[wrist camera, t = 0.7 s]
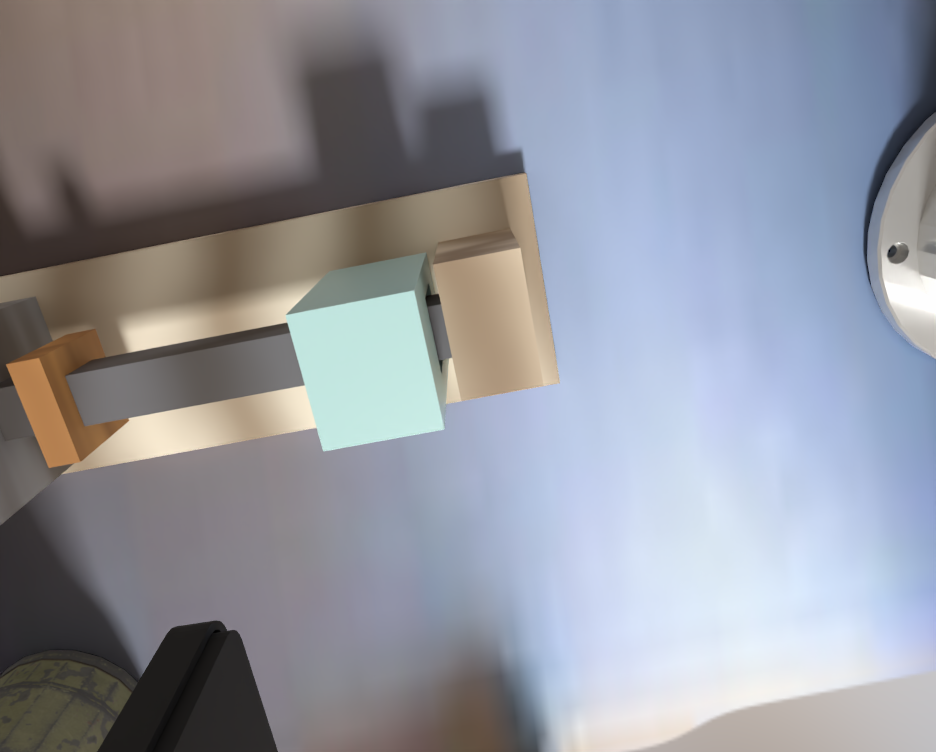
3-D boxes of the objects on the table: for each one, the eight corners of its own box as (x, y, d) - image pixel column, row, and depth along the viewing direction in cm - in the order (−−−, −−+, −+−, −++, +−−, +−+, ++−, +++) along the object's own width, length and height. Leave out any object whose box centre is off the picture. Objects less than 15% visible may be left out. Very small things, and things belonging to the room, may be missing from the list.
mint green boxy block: (426, 252, 29) (414, 290, 22) (448, 360, 30) (444, 429, 23) (329, 271, 29) (285, 315, 22) (356, 377, 30) (323, 451, 23)
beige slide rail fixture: (524, 172, 30) (549, 186, 21) (557, 376, 32) (590, 460, 24) (-71, 290, 31) (-274, 348, 22) (10, 476, 34) (-144, 590, 25)
